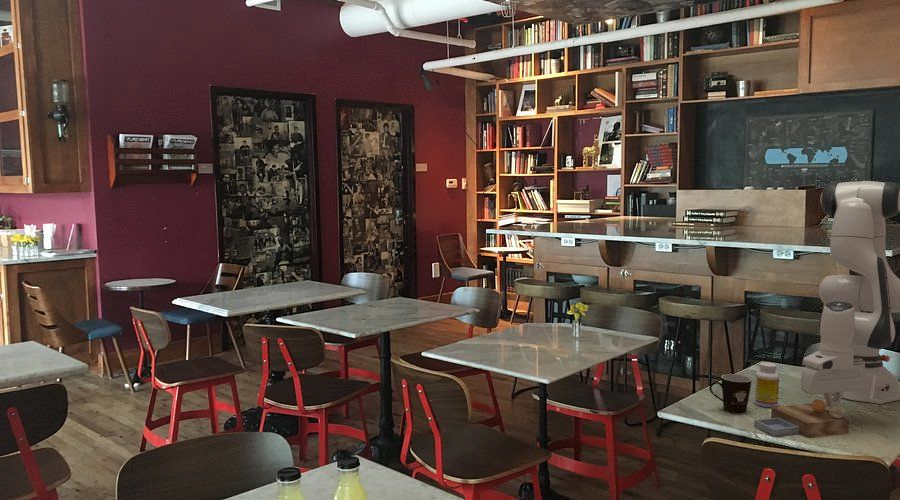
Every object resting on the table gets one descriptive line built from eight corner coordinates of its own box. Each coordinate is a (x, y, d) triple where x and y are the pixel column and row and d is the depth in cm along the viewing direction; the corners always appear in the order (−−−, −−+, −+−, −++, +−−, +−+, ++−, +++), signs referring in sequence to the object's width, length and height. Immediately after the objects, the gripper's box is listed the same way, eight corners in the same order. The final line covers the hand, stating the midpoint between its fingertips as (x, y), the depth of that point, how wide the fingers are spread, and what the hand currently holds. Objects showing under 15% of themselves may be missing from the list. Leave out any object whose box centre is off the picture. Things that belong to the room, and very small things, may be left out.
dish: (778, 424, 210) (778, 417, 209) (799, 434, 202) (799, 427, 202) (753, 426, 207) (754, 420, 207) (774, 436, 200) (774, 429, 199)
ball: (818, 409, 210) (819, 397, 210) (828, 413, 207) (829, 401, 207) (808, 410, 209) (809, 398, 209) (817, 414, 206) (818, 402, 206)
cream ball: (836, 415, 205) (837, 402, 205) (846, 419, 202) (847, 406, 202) (826, 416, 204) (826, 404, 204) (836, 420, 201) (836, 408, 201)
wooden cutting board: (810, 416, 216) (811, 403, 216) (848, 432, 203) (849, 418, 203) (770, 420, 212) (771, 407, 212) (806, 437, 199) (807, 423, 199)
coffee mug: (750, 408, 224) (752, 376, 223) (749, 416, 216) (751, 383, 215) (710, 402, 229) (712, 371, 228) (708, 411, 221) (709, 378, 220)
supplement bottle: (779, 408, 223) (782, 367, 222) (756, 407, 225) (758, 366, 223) (774, 402, 230) (776, 362, 229) (752, 400, 231) (754, 361, 230)
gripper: (855, 354, 214) (852, 400, 215) (798, 358, 208) (795, 406, 209) (873, 359, 208) (870, 407, 209) (815, 364, 202) (812, 413, 203)
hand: (832, 406), depth 209 cm, fingers closed
